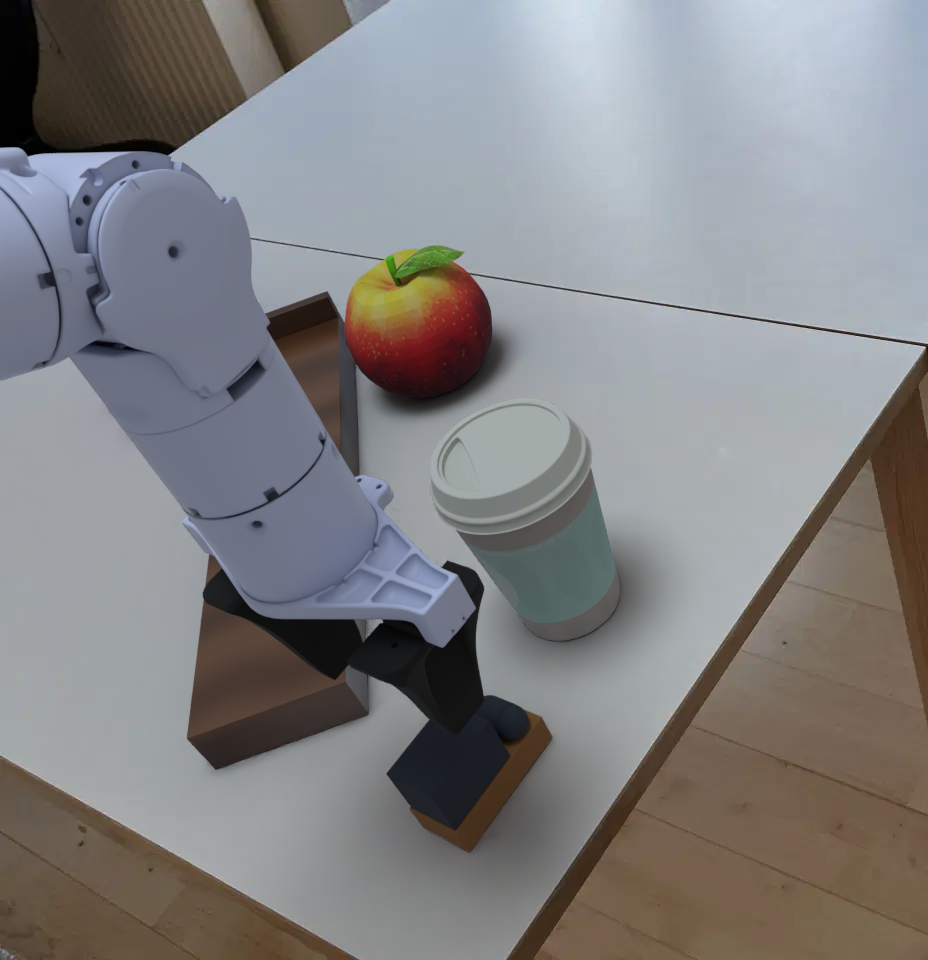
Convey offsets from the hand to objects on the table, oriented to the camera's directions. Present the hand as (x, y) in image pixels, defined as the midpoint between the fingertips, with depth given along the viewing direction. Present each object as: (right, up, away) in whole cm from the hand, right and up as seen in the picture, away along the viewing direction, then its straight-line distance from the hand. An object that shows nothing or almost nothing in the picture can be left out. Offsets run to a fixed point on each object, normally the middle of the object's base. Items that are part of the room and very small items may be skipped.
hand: (402, 687), depth 49 cm
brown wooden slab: (-13, +7, +27) cm, 31 cm away
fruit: (-5, +17, +35) cm, 40 cm away
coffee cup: (+7, +2, +14) cm, 16 cm away
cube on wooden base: (+3, -6, +6) cm, 9 cm away
